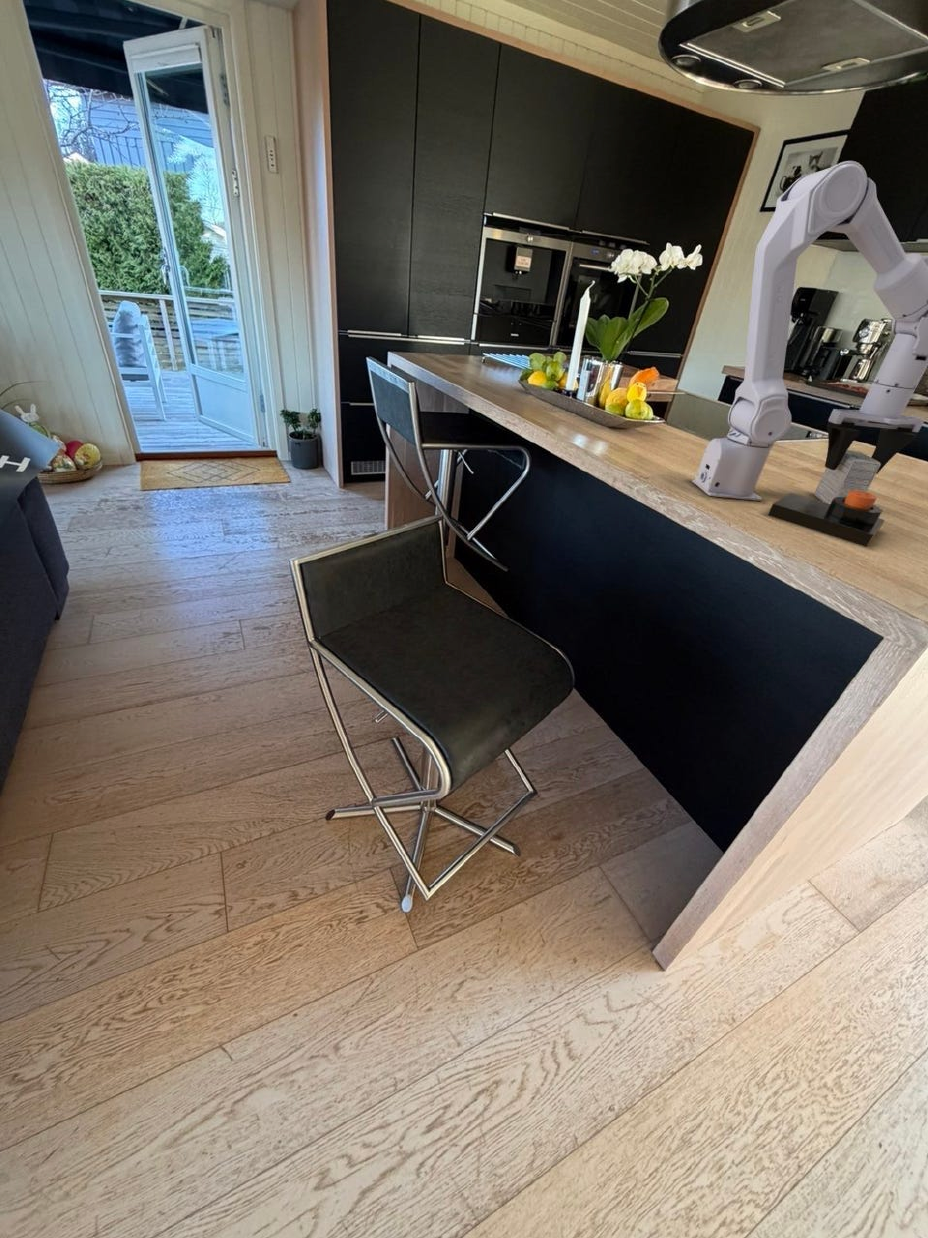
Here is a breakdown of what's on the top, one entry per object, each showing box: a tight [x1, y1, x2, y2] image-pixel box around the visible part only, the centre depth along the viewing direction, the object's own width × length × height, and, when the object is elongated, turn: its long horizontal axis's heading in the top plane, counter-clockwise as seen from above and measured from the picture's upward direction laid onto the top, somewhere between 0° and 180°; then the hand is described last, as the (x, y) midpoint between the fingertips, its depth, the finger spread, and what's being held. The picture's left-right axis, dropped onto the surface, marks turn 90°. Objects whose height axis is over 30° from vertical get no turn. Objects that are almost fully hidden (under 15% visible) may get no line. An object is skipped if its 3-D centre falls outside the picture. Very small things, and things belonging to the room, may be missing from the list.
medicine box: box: [813, 449, 881, 504], centre depth 91 cm, size 8×4×9 cm, turn 168°
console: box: [767, 492, 885, 548], centre depth 82 cm, size 10×14×4 cm
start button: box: [844, 490, 877, 510], centre depth 80 cm, size 4×4×2 cm
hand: (850, 470), depth 90 cm, fingers open, 7 cm apart
